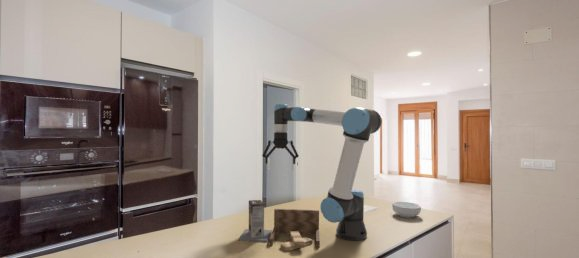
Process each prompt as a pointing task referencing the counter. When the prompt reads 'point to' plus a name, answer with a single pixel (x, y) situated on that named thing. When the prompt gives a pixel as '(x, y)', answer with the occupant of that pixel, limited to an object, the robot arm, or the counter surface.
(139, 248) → the counter surface
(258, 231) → the coffee box
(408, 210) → the cereal bowl
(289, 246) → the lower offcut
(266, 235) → the slate mat
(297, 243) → the upper offcut
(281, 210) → the walnut rack
